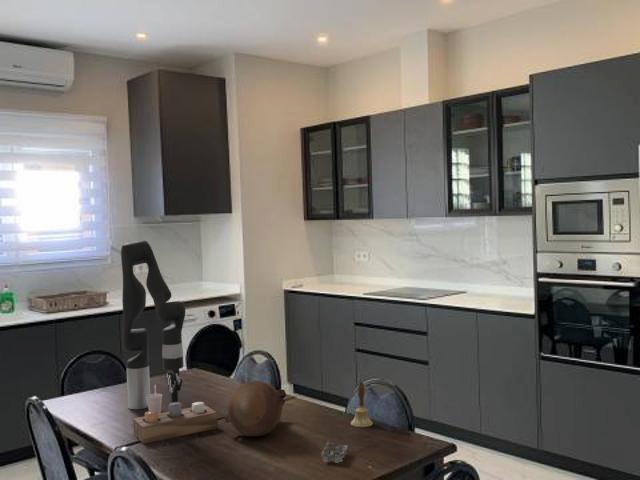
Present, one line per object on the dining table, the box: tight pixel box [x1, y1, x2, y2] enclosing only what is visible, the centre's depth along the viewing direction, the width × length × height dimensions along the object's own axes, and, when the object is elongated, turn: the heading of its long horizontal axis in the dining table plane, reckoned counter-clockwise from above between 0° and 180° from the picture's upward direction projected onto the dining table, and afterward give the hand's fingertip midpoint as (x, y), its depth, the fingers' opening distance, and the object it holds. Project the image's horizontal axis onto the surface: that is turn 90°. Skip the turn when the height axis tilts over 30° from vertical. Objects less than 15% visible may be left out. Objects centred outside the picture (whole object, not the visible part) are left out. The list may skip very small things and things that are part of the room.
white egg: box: [191, 401, 205, 414], centre depth 242 cm, size 5×5×6 cm
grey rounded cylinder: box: [168, 401, 183, 418], centre depth 237 cm, size 5×5×6 cm
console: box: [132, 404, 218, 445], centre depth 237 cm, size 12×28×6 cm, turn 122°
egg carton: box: [320, 440, 348, 464], centre depth 206 cm, size 10×7×4 cm
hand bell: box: [350, 381, 373, 428], centre depth 239 cm, size 8×8×16 cm
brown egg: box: [144, 410, 158, 423], centre depth 233 cm, size 5×5×6 cm
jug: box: [224, 380, 287, 437], centre depth 235 cm, size 20×20×30 cm
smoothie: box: [146, 384, 163, 414], centre depth 252 cm, size 6×6×14 cm
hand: (174, 401), depth 237 cm, fingers closed
